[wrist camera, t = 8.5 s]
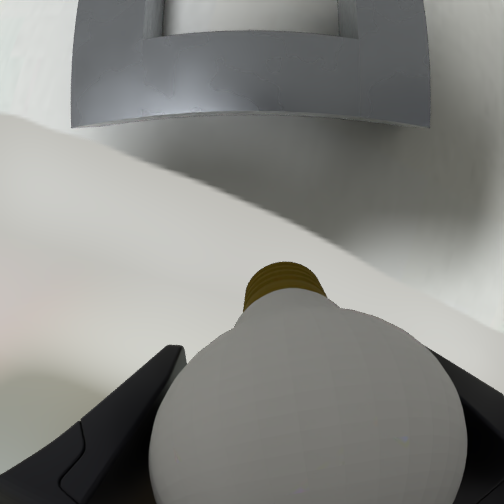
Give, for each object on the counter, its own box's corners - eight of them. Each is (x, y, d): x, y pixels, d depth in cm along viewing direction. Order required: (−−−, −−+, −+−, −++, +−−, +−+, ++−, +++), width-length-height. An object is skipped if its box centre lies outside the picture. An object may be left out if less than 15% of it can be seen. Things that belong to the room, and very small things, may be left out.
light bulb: (219, 186, 10) (65, 559, 1) (381, 230, 11) (579, 465, 1) (189, 330, 12) (132, 585, 3) (326, 356, 13) (380, 583, 3)
